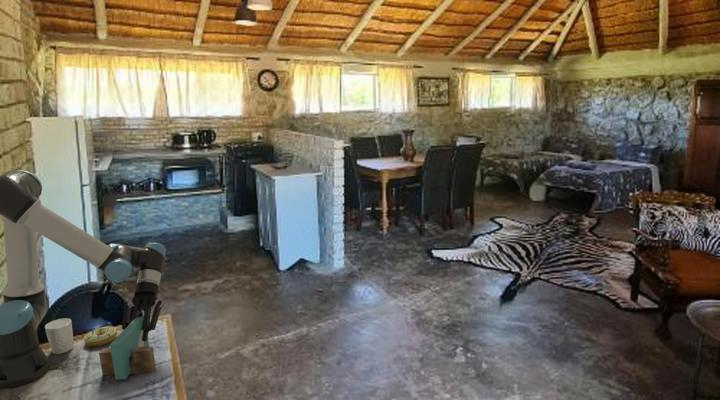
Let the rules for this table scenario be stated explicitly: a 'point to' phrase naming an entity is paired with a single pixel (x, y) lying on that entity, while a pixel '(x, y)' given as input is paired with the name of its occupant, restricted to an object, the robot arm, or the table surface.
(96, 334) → the decorated donut
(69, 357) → the table surface
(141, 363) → the walnut slotted plate
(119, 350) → the teal upright panel
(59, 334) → the white cup
